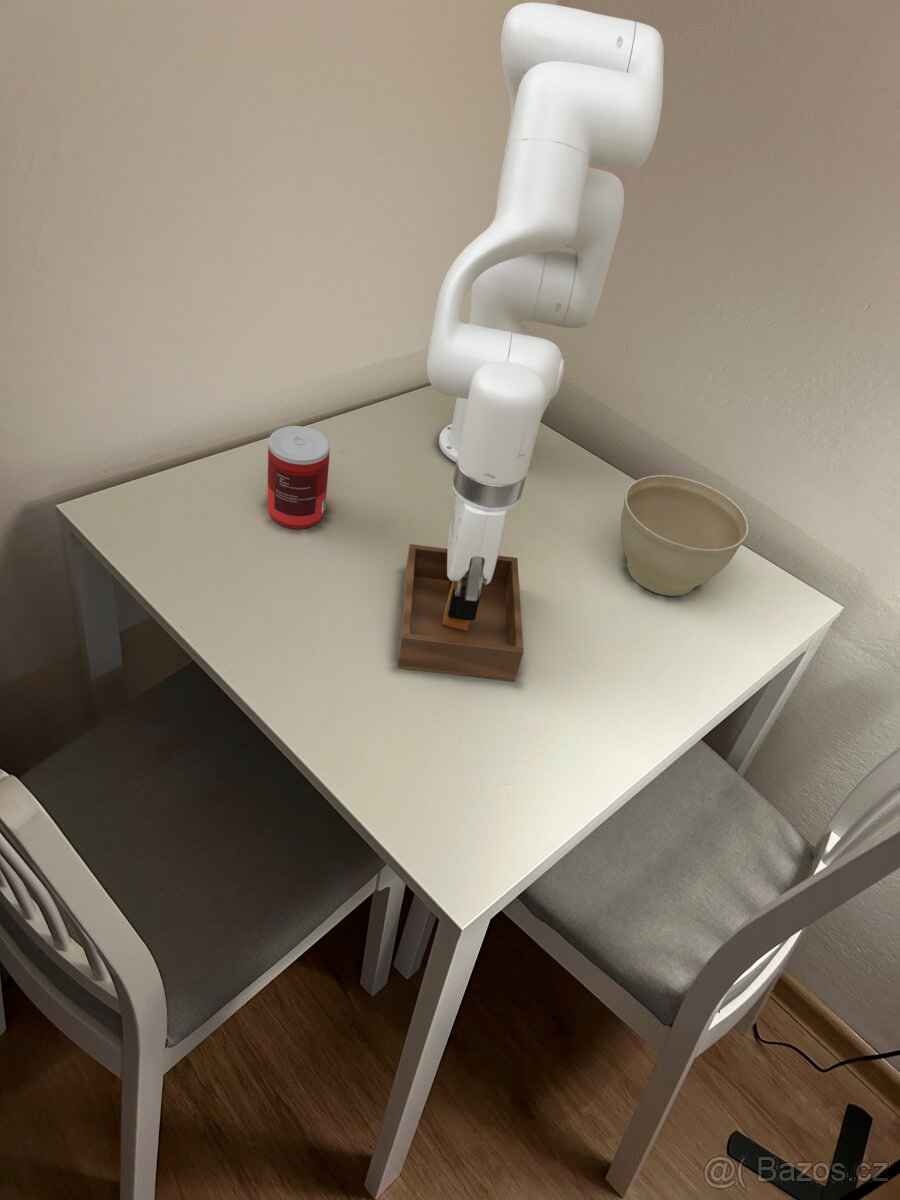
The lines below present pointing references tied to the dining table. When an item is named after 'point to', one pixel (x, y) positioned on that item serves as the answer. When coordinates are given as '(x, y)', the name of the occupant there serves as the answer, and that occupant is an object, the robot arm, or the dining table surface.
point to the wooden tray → (444, 649)
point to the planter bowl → (678, 533)
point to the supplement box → (454, 622)
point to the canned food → (297, 476)
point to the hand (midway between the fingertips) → (461, 603)
